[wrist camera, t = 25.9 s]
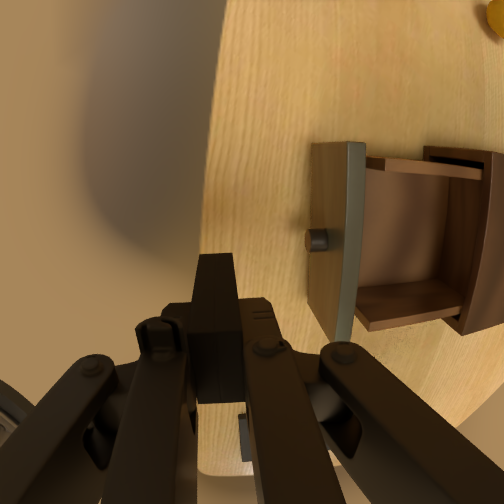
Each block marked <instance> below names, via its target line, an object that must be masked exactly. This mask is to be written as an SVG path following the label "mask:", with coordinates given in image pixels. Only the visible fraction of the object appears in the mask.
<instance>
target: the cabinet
mask: <svg viewBox="0 0 504 504" xmlns="http://www.w3.org/2000/svg"><path fill="white" fill-rule="evenodd" d="M423 161H430V162H438V163H446V164H453V165H460V166H466V167H472V168H478V169H484V175H483V190H482V201H481V211H480V220H479V227H478V234H477V241H476V247H475V253H474V259H473V264H472V269H471V274H470V278H469V283H468V287H467V292H466V296H465V300H464V304H463V308H462V311H461V314H457V315H453V316H449V317H444V318H441V319H442V320H443V321H445V322H446V323H447V324H448V325H449V326H450V327H451V328H453V329H454V330H455V331H456V332H457V333H458V334H460V335H461V336H464V335H468V334H471V333H474V332H477V331H481V330H484V329H487V328H490V327H493V326H496V325H499V324H502V323H504V154H501V153H497V152H493V151H484V150H475V149H464V148H452V147H438V146H424V160H423Z"/></svg>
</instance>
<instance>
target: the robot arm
mask: <svg viewBox="0 0 504 504" xmlns="http://www.w3.org/2000/svg"><path fill="white" fill-rule="evenodd" d="M135 331H136V336H137V340H138V344H139V349H140V353H141V355H140V357H139V360H137V361H135V362H131V363H128V364H123V365H117V366H115V365H114V362H113V361H112V359H110V357H108V356H105V355H101V354H92V355H87V356H85V357H82V358H80V359H79V360H77V361H76V362H75V363H74V364H73V365H72V366H71V367H70V368H69V369H68V370H67V371H66V372H65V373H64V375H63V376H62V377H61V378H60V379H59V380H58V381H57V382H56V383H55V384H54V386H53V387H52V388H51V389H50V390H49V391H48V393H46V395H45V396H44V397H43V398H42V399H41V400H40V401H39V402H38V404H37V405H36V406H35V407H34V408H33V409H32V410H31V412H30V413H29V414H28V415H27V416H26V417H25V419H24V420H23V421H22V422H21V423H19V422H18V421H17V420H16V419H15V418H14V417H13V416H11V415H10V414H9V413H8V412H6V411H5V410H4V409H2V408H1V407H0V504H98V503H99V501H100V499H101V497H102V499H101V504H197V451H198V412H197V407H196V401H197V400H198V404H213V403H233V402H246V419H247V429H248V432H249V440H250V448H251V456H252V464H253V472H254V479H255V486H256V494H257V501H258V504H346V502H345V499H344V496H343V493H342V490H341V487H340V484H339V481H338V478H337V475H336V473H335V470H334V467H333V464H332V461H331V458H330V455H329V452H328V450H327V447H326V444H327V445H328V447H329V448H330V449H331V451H332V452H333V453H334V455H335V456H336V457H337V459H338V460H339V462H340V463H341V464H342V466H343V467H344V468H345V470H346V471H347V472H348V474H349V475H350V476H351V478H352V479H353V480H354V482H355V483H356V484H357V486H358V487H359V488H360V489H361V491H362V492H363V493H364V495H365V496H366V497H367V499H368V500H369V501H370V502H371V504H504V471H503V470H502V469H501V468H499V467H498V466H497V465H496V464H495V463H494V462H493V461H492V460H490V459H489V458H488V457H487V456H486V455H484V453H482V452H481V451H480V450H479V449H478V448H477V447H476V446H475V445H473V444H472V443H471V442H470V441H469V440H468V439H466V438H465V437H464V436H463V435H462V434H460V432H458V431H457V430H456V429H455V428H454V427H453V426H452V425H451V424H449V423H448V422H447V421H446V420H445V419H444V418H443V417H441V416H440V415H439V414H438V413H437V412H436V411H435V410H434V409H432V408H431V407H430V406H429V405H428V404H427V403H426V402H424V401H423V400H422V399H421V398H420V397H419V396H418V395H416V394H415V393H414V392H413V391H412V390H411V389H410V388H408V387H407V386H406V385H405V384H404V383H403V382H402V381H400V380H399V379H398V378H397V377H396V376H395V375H394V374H392V373H391V372H390V371H389V370H388V369H387V368H386V367H384V366H383V365H382V364H381V363H380V362H379V361H378V360H376V359H375V358H374V357H373V356H372V355H371V354H370V353H368V352H367V351H366V350H365V349H364V348H362V347H361V346H359V345H358V344H355V343H352V342H346V341H337V342H331V343H329V344H327V345H325V346H324V347H323V348H322V349H321V352H320V355H317V354H307V353H301V352H298V351H295V350H293V349H292V347H291V345H290V344H289V343H288V341H286V340H285V339H283V338H282V335H281V332H280V329H279V326H278V323H277V320H276V317H275V314H274V311H273V308H272V305H271V303H270V302H269V301H267V300H266V299H265V298H264V297H261V298H245V299H238V293H237V285H236V278H235V270H234V262H233V254H232V253H216V254H199V260H198V265H197V271H196V278H195V283H194V289H193V295H192V301H191V302H186V303H169V304H168V305H167V306H166V307H165V308H164V309H163V310H162V313H161V316H160V317H152V318H149V319H146V320H144V321H143V322H141V323H139V324H138V325H137V327H136V328H135ZM325 442H326V444H325Z"/></svg>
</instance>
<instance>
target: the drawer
mask: <svg viewBox="0 0 504 504" xmlns="http://www.w3.org/2000/svg"><path fill="white" fill-rule="evenodd" d="M311 157H312V175H311V229H306V232H305V247H306V250H307V252H308V253H310V262H309V284H308V302H307V303H308V305H309V306H310V308H311V310H312V312H313V313H314V315H315V317H316V319H317V320H318V322H319V324H320V326H321V327H322V329H323V331H324V333H325V334H326V336H327V338H328V340H329V341H330V343H331V342H337V341H346V342H350V339H351V333H352V326H353V319H354V314H355V315H356V317H357V318H358V319H359V321H360V322H361V323H362V324H363V326H364V327H365V328H366V329H367V331H368V332H371V331H377V330H383V329H389V328H395V327H400V326H405V325H411V324H416V323H421V322H425V321H430V320H435V319H440V318H444V317H449V316H453V315H457V314H461V311H462V308H463V304H464V300H465V296H466V292H467V287H468V283H469V278H470V274H471V269H472V264H473V259H474V253H475V247H476V241H477V234H478V227H479V220H480V211H481V201H482V190H483V175H484V169H478V168H472V167H466V166H460V165H453V164H446V163H438V162H430V161H421V160H411V159H400V158H389V157H375V156H366V143H364V142H350V141H345V142H323V143H312V144H311Z"/></svg>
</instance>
